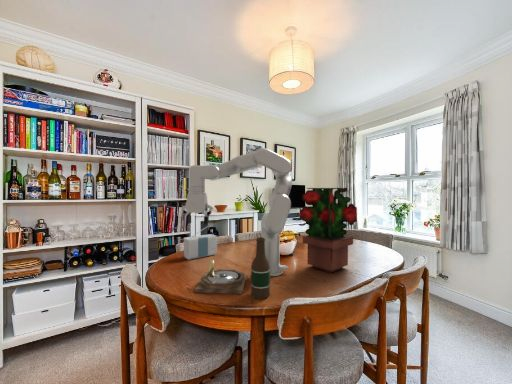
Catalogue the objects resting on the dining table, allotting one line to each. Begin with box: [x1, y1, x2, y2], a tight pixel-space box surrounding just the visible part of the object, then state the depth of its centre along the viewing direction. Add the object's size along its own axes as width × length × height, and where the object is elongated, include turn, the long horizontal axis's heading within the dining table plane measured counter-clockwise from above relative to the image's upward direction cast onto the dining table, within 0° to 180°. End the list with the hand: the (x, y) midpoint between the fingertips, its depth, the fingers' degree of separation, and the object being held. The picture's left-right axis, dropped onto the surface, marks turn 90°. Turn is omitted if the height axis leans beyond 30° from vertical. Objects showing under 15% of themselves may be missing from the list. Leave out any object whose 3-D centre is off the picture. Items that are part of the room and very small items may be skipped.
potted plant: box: [299, 187, 358, 274], centre depth 136 cm, size 22×22×45 cm
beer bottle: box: [250, 236, 271, 300], centre depth 101 cm, size 8×8×24 cm
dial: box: [208, 259, 238, 283], centre depth 113 cm, size 14×14×9 cm
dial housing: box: [194, 268, 248, 295], centre depth 113 cm, size 20×20×4 cm
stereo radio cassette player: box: [183, 225, 218, 261], centre depth 158 cm, size 21×8×20 cm, turn 130°
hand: (197, 223), depth 123 cm, fingers open, 9 cm apart
